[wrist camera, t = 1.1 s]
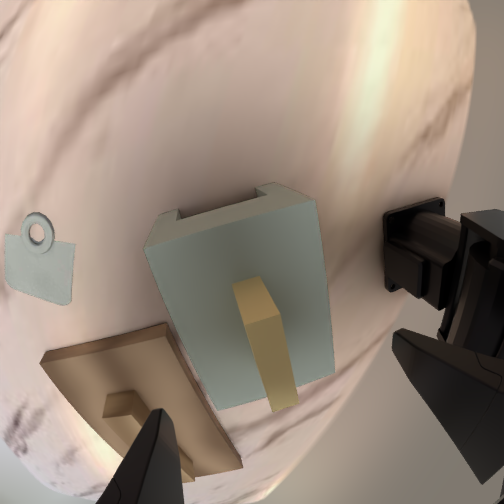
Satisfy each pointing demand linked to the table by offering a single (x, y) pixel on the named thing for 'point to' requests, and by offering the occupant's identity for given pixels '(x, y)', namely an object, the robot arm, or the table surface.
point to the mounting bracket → (39, 263)
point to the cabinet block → (248, 295)
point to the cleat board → (142, 396)
